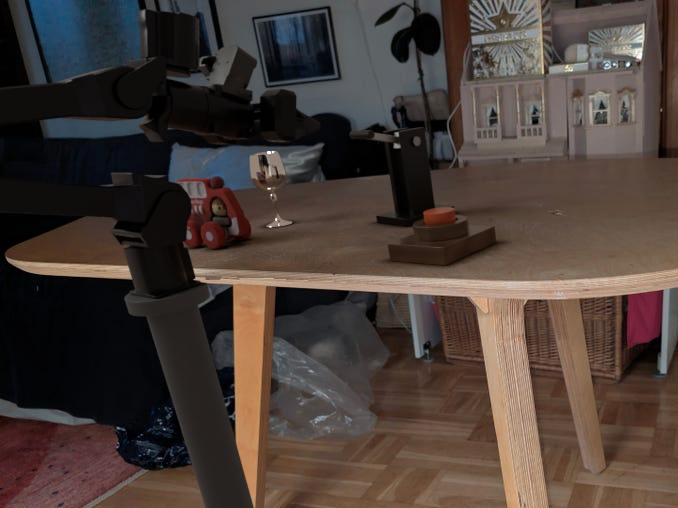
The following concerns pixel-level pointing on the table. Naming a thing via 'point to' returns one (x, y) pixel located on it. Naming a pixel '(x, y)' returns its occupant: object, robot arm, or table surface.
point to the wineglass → (269, 178)
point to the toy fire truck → (213, 213)
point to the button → (439, 216)
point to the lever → (376, 137)
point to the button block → (441, 242)
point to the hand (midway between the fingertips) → (299, 128)
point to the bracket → (409, 178)
